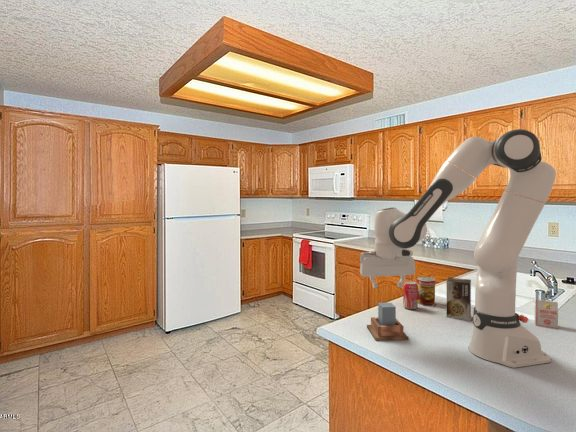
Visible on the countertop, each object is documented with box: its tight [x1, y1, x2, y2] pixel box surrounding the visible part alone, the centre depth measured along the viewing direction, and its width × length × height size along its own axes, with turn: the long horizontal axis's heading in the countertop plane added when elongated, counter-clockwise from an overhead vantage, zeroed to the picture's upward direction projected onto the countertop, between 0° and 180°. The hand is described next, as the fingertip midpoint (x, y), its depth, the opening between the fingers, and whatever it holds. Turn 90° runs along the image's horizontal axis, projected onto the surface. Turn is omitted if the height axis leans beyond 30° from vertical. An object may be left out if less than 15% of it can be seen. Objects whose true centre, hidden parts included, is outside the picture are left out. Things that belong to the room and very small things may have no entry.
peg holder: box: [366, 316, 409, 341], centre depth 122 cm, size 12×12×4 cm
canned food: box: [416, 276, 436, 307], centre depth 156 cm, size 8×8×12 cm
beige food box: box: [534, 299, 559, 330], centre depth 127 cm, size 4×7×10 cm, turn 59°
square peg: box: [377, 302, 397, 326], centre depth 122 cm, size 5×5×10 cm
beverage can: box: [402, 280, 419, 310], centre depth 150 cm, size 6×6×12 cm
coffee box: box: [445, 276, 472, 322], centre depth 138 cm, size 9×6×16 cm
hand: (387, 287), depth 121 cm, fingers open, 8 cm apart
